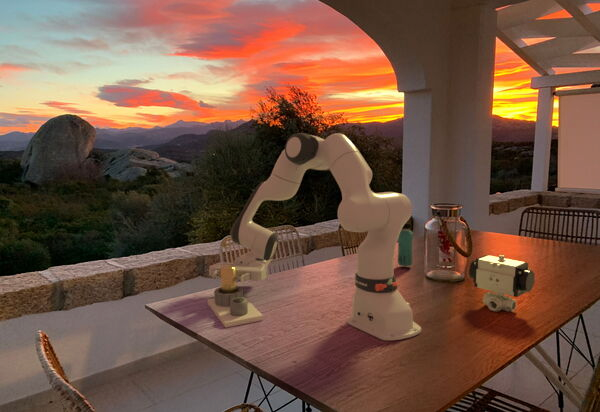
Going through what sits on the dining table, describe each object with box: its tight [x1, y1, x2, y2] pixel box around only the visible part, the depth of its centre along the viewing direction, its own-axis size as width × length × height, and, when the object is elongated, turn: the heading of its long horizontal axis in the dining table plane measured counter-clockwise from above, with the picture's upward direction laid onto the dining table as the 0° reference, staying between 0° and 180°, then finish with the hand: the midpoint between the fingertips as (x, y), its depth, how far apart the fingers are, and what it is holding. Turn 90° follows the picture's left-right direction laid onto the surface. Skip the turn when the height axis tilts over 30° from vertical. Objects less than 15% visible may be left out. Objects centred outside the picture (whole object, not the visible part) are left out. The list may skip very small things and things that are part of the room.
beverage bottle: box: [397, 222, 414, 267], centre depth 184 cm, size 6×7×20 cm
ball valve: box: [468, 254, 536, 312], centre depth 136 cm, size 18×8×18 cm, turn 40°
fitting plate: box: [207, 285, 264, 328], centre depth 137 cm, size 22×12×6 cm, turn 26°
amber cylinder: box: [220, 265, 237, 294], centre depth 142 cm, size 5×5×12 cm
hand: (226, 278), depth 141 cm, fingers open, 8 cm apart
